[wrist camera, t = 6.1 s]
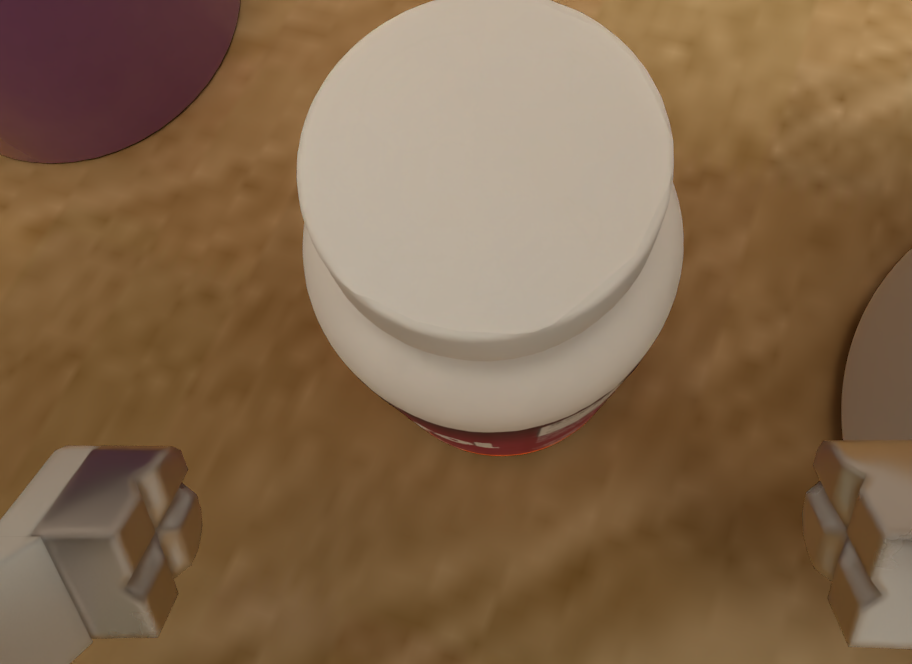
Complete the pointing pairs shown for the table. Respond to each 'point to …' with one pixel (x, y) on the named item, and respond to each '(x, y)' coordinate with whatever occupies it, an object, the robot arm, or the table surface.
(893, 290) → the cylinder vase
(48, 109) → the jar
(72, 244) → the table surface
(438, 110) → the pill bottle
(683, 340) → the table surface
